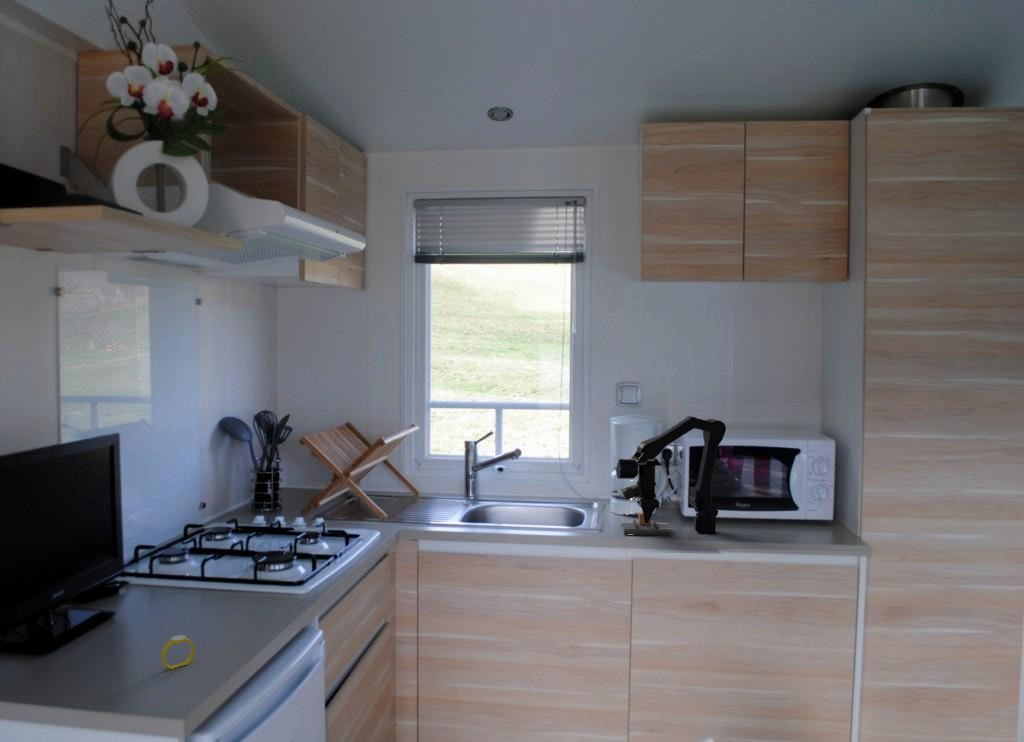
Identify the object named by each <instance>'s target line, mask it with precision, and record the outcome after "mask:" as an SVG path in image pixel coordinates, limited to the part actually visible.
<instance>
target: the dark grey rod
mask: <svg viewBox="0 0 1024 742" xmlns="http://www.w3.org/2000/svg"><path fill="white" fill-rule="evenodd" d="M624 534H634V535H633V536H640V535H648V537H649V536H650V537H657V536H658V537H659V536H660V537H670V536H671V535H670V532H624V533H623V535H624Z"/></svg>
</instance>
